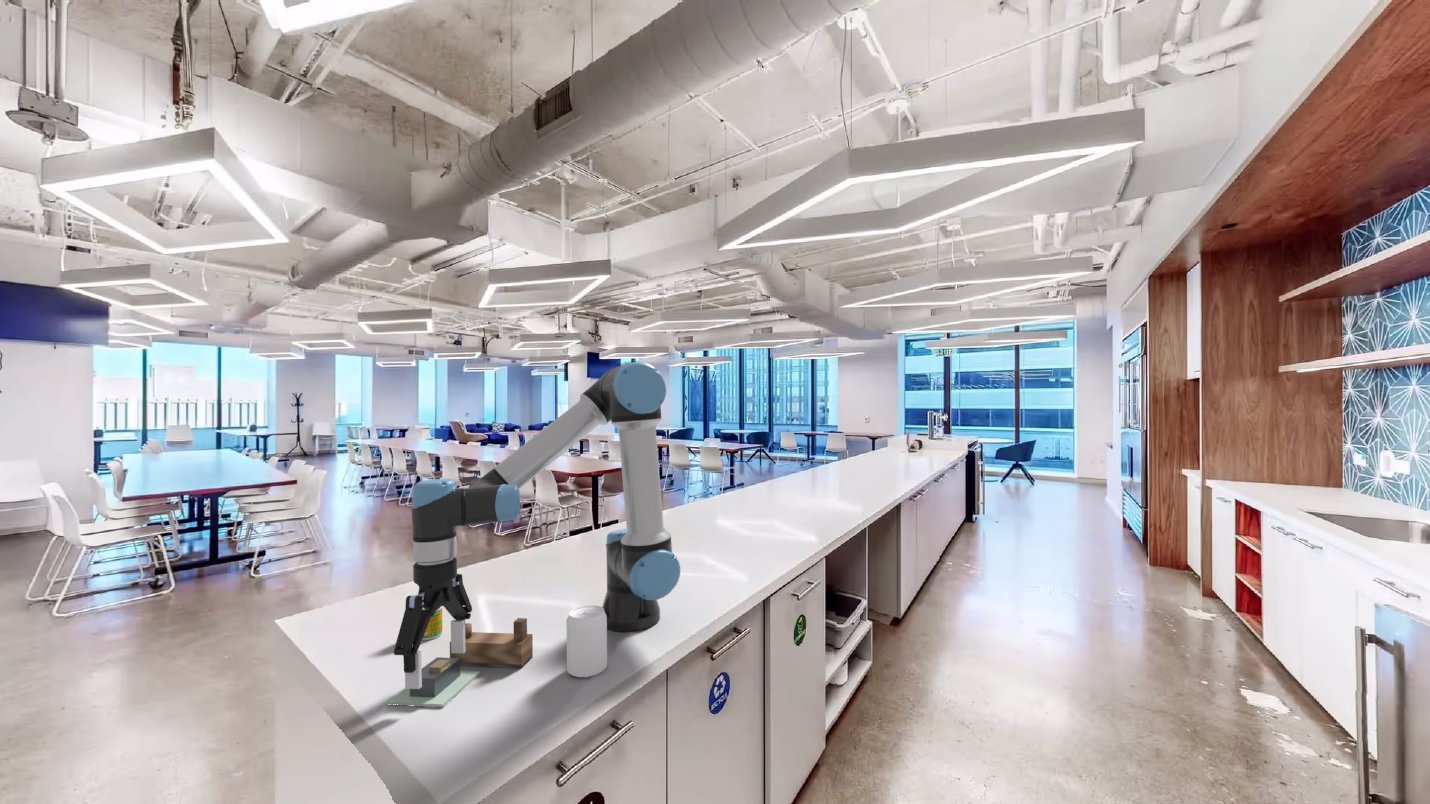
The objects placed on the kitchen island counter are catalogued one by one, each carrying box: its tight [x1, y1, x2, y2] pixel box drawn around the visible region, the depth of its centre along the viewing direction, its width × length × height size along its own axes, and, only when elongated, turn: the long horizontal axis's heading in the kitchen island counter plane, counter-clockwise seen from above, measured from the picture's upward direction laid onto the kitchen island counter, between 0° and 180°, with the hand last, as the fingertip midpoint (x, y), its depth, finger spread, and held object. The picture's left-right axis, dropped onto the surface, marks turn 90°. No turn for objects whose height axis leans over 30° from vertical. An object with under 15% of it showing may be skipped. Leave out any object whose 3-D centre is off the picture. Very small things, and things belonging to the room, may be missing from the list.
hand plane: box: [449, 617, 534, 669], centre depth 112 cm, size 16×5×9 cm, turn 84°
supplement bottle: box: [422, 606, 443, 641], centre depth 125 cm, size 5×5×10 cm
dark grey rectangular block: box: [410, 657, 461, 698], centre depth 101 cm, size 5×8×4 cm, turn 174°
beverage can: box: [566, 604, 608, 678], centre depth 107 cm, size 8×8×12 cm
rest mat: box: [386, 670, 481, 708], centre depth 101 cm, size 11×12×1 cm
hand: (437, 669), depth 101 cm, fingers open, 13 cm apart
